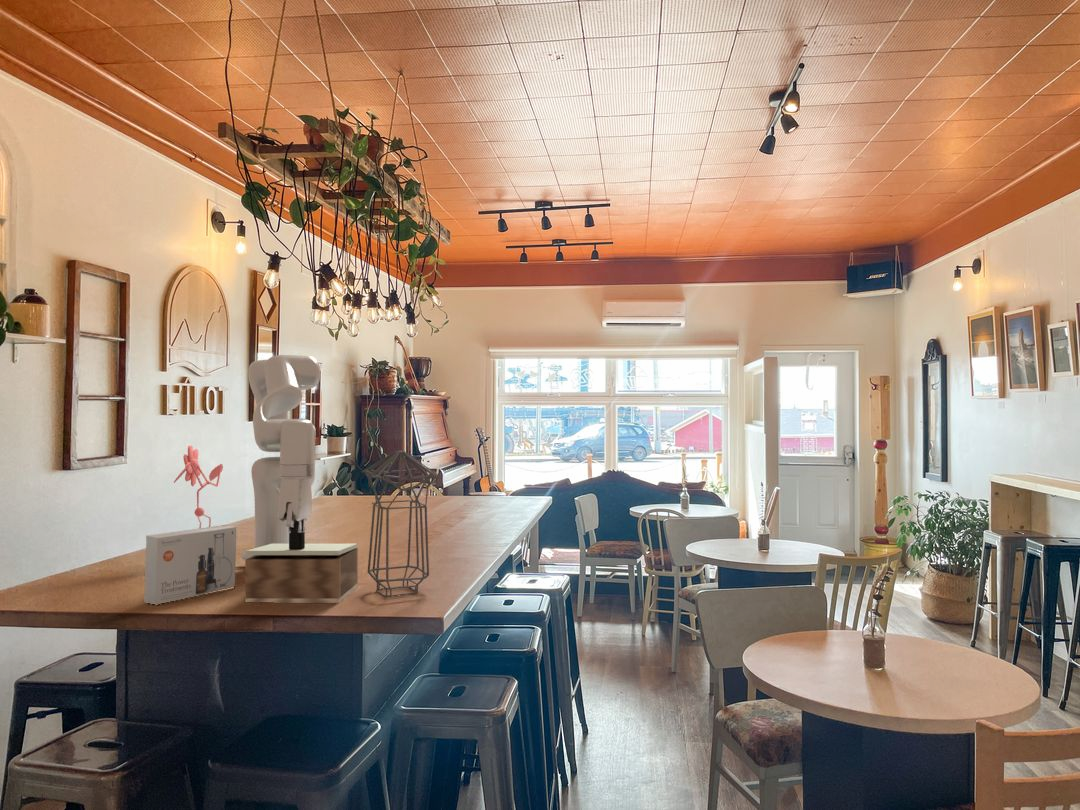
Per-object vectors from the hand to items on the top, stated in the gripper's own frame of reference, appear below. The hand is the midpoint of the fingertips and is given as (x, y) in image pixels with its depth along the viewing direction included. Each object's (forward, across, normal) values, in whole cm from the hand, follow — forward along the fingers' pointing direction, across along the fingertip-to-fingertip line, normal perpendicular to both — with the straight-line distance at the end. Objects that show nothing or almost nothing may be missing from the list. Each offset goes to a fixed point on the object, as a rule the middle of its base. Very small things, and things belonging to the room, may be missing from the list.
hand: (296, 549), depth 176 cm
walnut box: (+12, -5, 0) cm, 13 cm away
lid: (+1, -5, 0) cm, 5 cm away
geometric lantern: (+12, -7, +23) cm, 27 cm away
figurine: (+12, -47, -49) cm, 69 cm away
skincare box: (+12, -4, -27) cm, 30 cm away
